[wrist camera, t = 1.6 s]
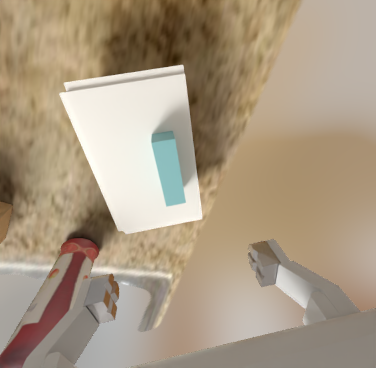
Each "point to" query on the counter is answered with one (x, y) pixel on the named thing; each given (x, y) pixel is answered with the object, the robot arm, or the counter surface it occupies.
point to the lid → (139, 145)
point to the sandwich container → (4, 219)
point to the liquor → (51, 300)
